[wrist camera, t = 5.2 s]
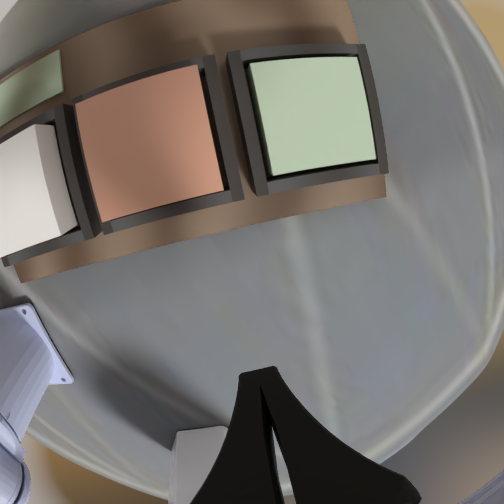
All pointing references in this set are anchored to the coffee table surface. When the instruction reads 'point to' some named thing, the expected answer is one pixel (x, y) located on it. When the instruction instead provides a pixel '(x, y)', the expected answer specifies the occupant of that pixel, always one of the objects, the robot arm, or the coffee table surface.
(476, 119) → the coffee table surface
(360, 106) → the key sage
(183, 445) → the jar
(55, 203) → the key white
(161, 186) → the key terracotta
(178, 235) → the console
